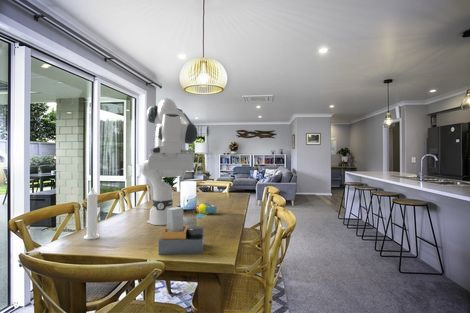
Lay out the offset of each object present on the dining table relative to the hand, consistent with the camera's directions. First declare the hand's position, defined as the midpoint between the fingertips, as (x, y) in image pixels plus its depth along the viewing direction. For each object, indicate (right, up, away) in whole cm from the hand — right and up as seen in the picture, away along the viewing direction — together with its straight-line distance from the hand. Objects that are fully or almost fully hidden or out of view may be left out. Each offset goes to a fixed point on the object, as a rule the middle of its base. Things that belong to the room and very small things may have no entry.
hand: (171, 180), depth 115 cm
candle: (-43, -30, +12) cm, 53 cm away
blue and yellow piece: (+8, -31, +67) cm, 75 cm away
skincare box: (+3, -24, -3) cm, 25 cm away
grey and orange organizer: (+6, -30, -3) cm, 31 cm away
